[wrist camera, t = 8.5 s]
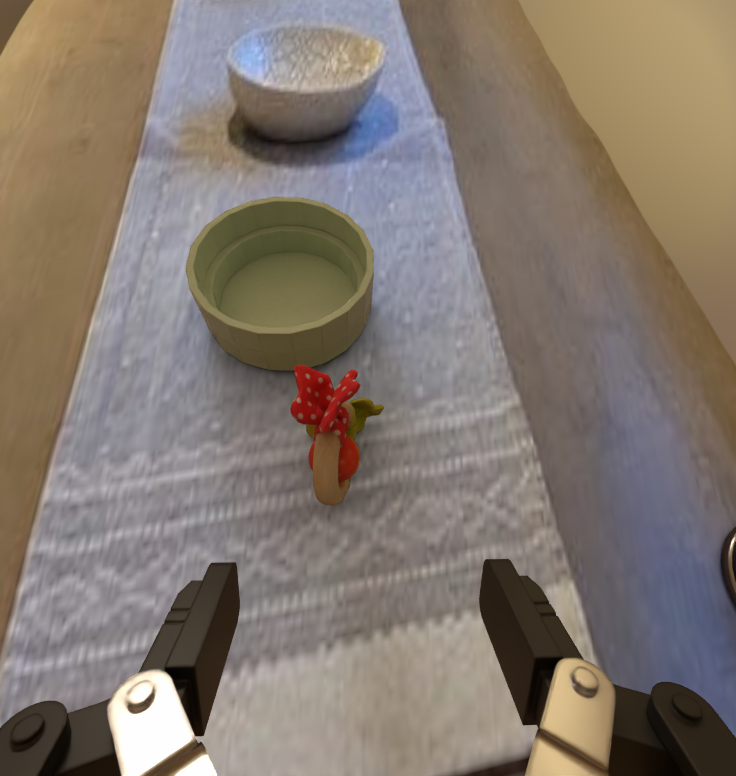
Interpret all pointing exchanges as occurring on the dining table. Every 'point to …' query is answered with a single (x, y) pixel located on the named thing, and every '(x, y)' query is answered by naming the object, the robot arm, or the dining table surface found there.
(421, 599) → the dining table surface
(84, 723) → the robot arm
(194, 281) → the bowl
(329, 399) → the bird rattle
